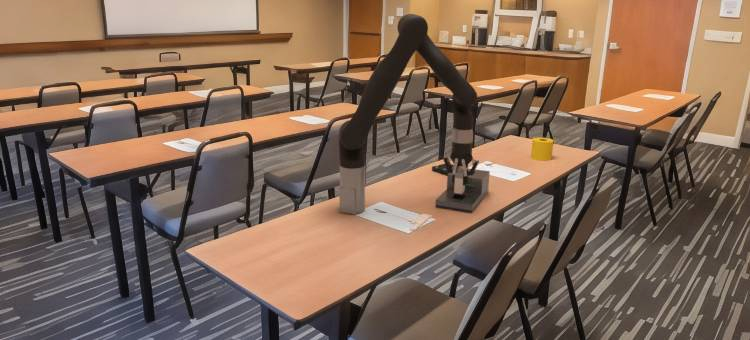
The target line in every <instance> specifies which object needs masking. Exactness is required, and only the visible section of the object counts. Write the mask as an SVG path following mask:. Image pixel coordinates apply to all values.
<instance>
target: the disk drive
mask: <svg viewBox="0 0 750 340" xmlns="http://www.w3.org/2000/svg"><path fill="white" fill-rule="evenodd" d="M451 166H452V169H453V167H454V164H453V163H452V164H451ZM461 168H463V167H461ZM431 171H432V172H433V173H436V174H440V175H442V176H446V177H447V176H448V174H449V172H448V170H447V168H446V165H445V163H442V164H438V165H433V166H432V167H431Z"/></svg>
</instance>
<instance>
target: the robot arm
mask: <svg viewBox="0 0 750 340" xmlns="http://www.w3.org/2000/svg"><path fill="white" fill-rule="evenodd" d="M396 27H397V32H398V36H397V37H396V40H395V42H394V44H393V46H392V48H391V49H390V50H389V52H388V53H387V54H386V55H385V57H383V59H382V60H381V61H380V62H379V63H378V64H377V65H376V67H375V68H374V70H373V71H372V74H371V75H370V77H369V79H368V81H367V82H366V85H365V87H364V89H363V92H362V95H361V97H360V101H359V104H358V105H357V108H356V110H355V112H354V113H353V115H352V116H351V118H350V120H346V121H345V122H343V123H341V124H342V125H340V127H339V130H338V131H339V133H338V142H339V143H338V145H339V146H338V147H339V149H338V151H339V155H338V156H339V191H338V192H339V193H338V194H339V195H338V196H339V197H338V198H339V213H343V214H349V215H356V214H360V213H363V212H364V211H365V210H366V151H365V147H366V146H365V143H366V140H367V138H368V135H369V133H370V131H371V129H372V127H373V124H374V122H375V120H376V118H377V117H378V115H379V114H380V113H381V111H382V110H383V108H384V106H385V105H386V103H387V101H388V100H389V99H390V97H391V95H392V93H393V92H394V91H395V88H396V86H397V85H398V83H399V81H400V79H401V77H402V76H403V74H404V72H405V71H406V68H407V66H408V64H409V63H410V60H411V58H412V57H413V55H414V54H415V52H416V51H417V53H418V54H419V55H420V56H421V58H422V59H423V60H424V61H425V62H426V64H427V65H428V67H429V68H430V69H431V71H432V72H433V73H434V75H435V76H436V77H437V78H438V80H439V81H440V82H441V83H442V85H443V87H445V88H446V89H448V90H449V91H450V92H451V93H452V97H451V98H452V99H451V101H452V102H451V103H452V111H453V128H452V129H453V130H452V134H451V135H452V136H451V154H450V155H449V156H448V155H447V156H444V158H443V162H444V164H445V165H446V168H447V170H448V172H449V173H452V175H453V176H452V182H453V183H454V184H455V172H456V171H458V167H462V168H463V172H464V176H463V185H464V186H465V185H466V184H467V182H468V176H469V175H470V176H471V175H472V174H473V173H474V171H475V169H476V170H477V167H478V165H479V164H480V160H479V159H478V160H476V159H475V158H474V157H473V141H474V131H473V128H474V116H473V113H472V112H471V107H473V106H475V104H476V103H477V101H478V92H477V91H476V89H475V88H474V86H473V85H472V84H471V83H469V81H468V80H467V79H466V78H464V76H463V75H461V73H460V71H459V70H458V69H457V68H456V66H455V65H454V64H453V62H452V61H451V60H450V58H448V56H447V55H446V54H444V53H443V52H442V50H441V49H440V48H439V47H438V46H437V45H436V44H435V43H434V42H433V40H432V39H431V37H430V36H429V34H428V32H429V31H428V30H429V25H428V22H427V20H426V18H425V17H424V16H421V15H418V14H415V13H408V14H405V15H403V16H402V17H400V18H399V20H398V23H397V26H396ZM451 161H452V164H453V165H454V167H453V169H452V166H451ZM470 163H471V165H472V167H470V169H471V170H470V171H469V172H468V168H469V164H470Z"/></svg>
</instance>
